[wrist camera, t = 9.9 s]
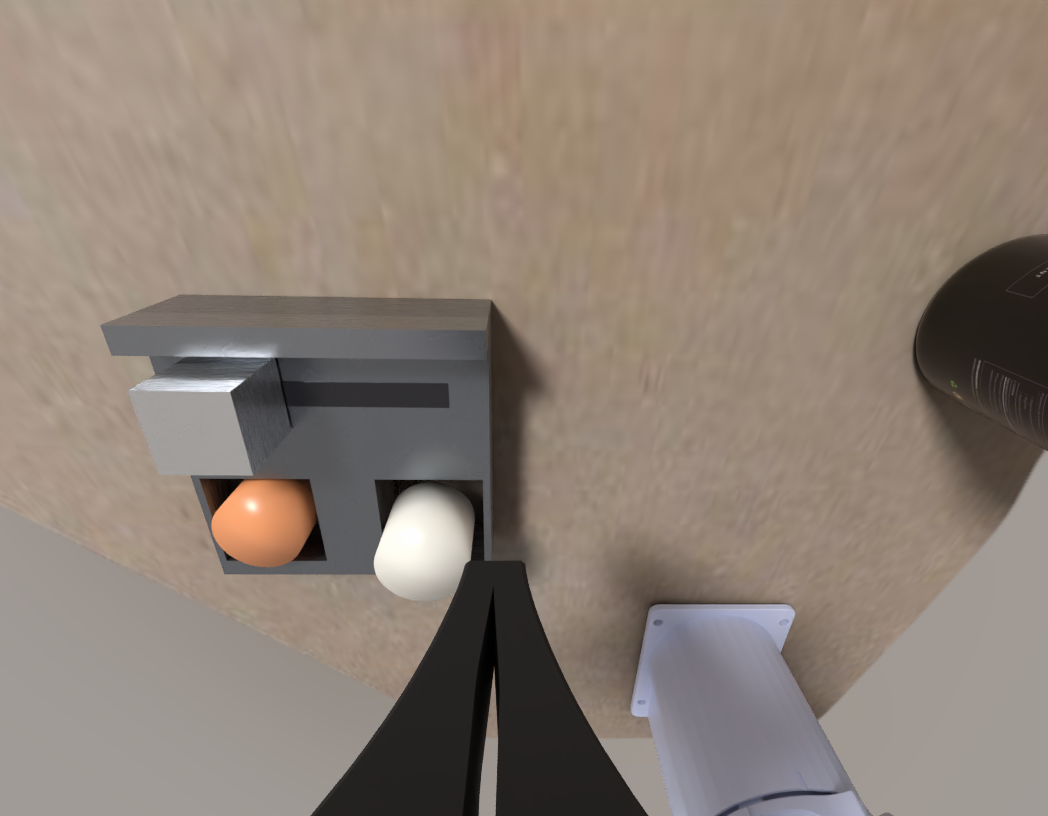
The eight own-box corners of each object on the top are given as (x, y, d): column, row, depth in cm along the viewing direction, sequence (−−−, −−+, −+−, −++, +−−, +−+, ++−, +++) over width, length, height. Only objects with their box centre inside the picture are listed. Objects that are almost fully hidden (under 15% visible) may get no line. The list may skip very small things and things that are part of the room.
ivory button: (476, 548, 22) (470, 601, 19) (396, 547, 22) (379, 601, 19) (473, 482, 20) (467, 530, 18) (387, 481, 20) (368, 530, 17)
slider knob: (291, 430, 18) (253, 475, 16) (211, 430, 18) (159, 474, 16) (274, 356, 17) (230, 391, 14) (188, 355, 17) (127, 390, 14)
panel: (493, 536, 24) (489, 600, 21) (251, 536, 24) (205, 601, 20) (491, 299, 19) (485, 330, 15) (179, 294, 19) (100, 325, 15)
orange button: (333, 521, 23) (309, 567, 21) (257, 520, 23) (224, 567, 20) (320, 458, 22) (293, 498, 19) (239, 457, 22) (200, 498, 19)
